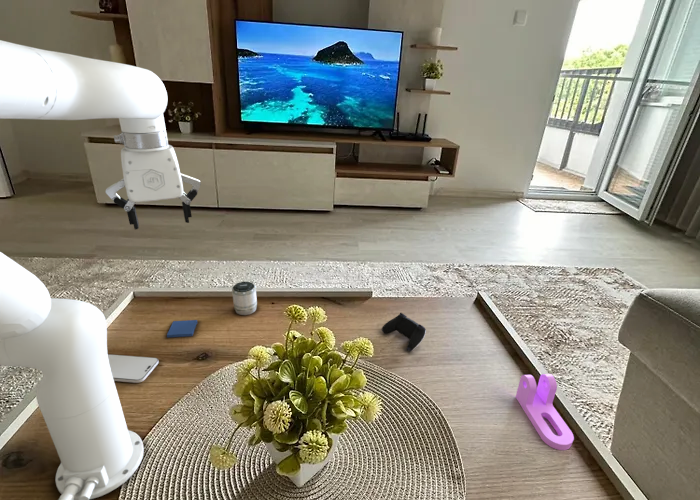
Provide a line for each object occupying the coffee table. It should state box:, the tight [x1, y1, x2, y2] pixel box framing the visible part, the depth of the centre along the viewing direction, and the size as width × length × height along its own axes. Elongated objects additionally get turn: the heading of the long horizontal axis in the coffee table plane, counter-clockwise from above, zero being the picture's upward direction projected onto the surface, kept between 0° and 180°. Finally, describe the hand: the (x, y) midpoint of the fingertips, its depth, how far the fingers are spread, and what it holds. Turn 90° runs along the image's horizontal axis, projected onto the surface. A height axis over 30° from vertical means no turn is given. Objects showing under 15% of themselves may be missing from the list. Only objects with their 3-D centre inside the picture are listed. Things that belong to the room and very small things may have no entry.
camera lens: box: [231, 281, 258, 316], centre depth 109 cm, size 6×6×8 cm
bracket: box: [515, 373, 575, 451], centre depth 76 cm, size 13×6×7 cm, turn 5°
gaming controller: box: [381, 312, 427, 352], centre depth 100 cm, size 11×4×7 cm
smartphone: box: [108, 353, 160, 384], centre depth 87 cm, size 7×1×15 cm
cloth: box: [166, 319, 198, 338], centre depth 101 cm, size 6×6×1 cm
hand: (162, 223), depth 83 cm, fingers open, 9 cm apart
